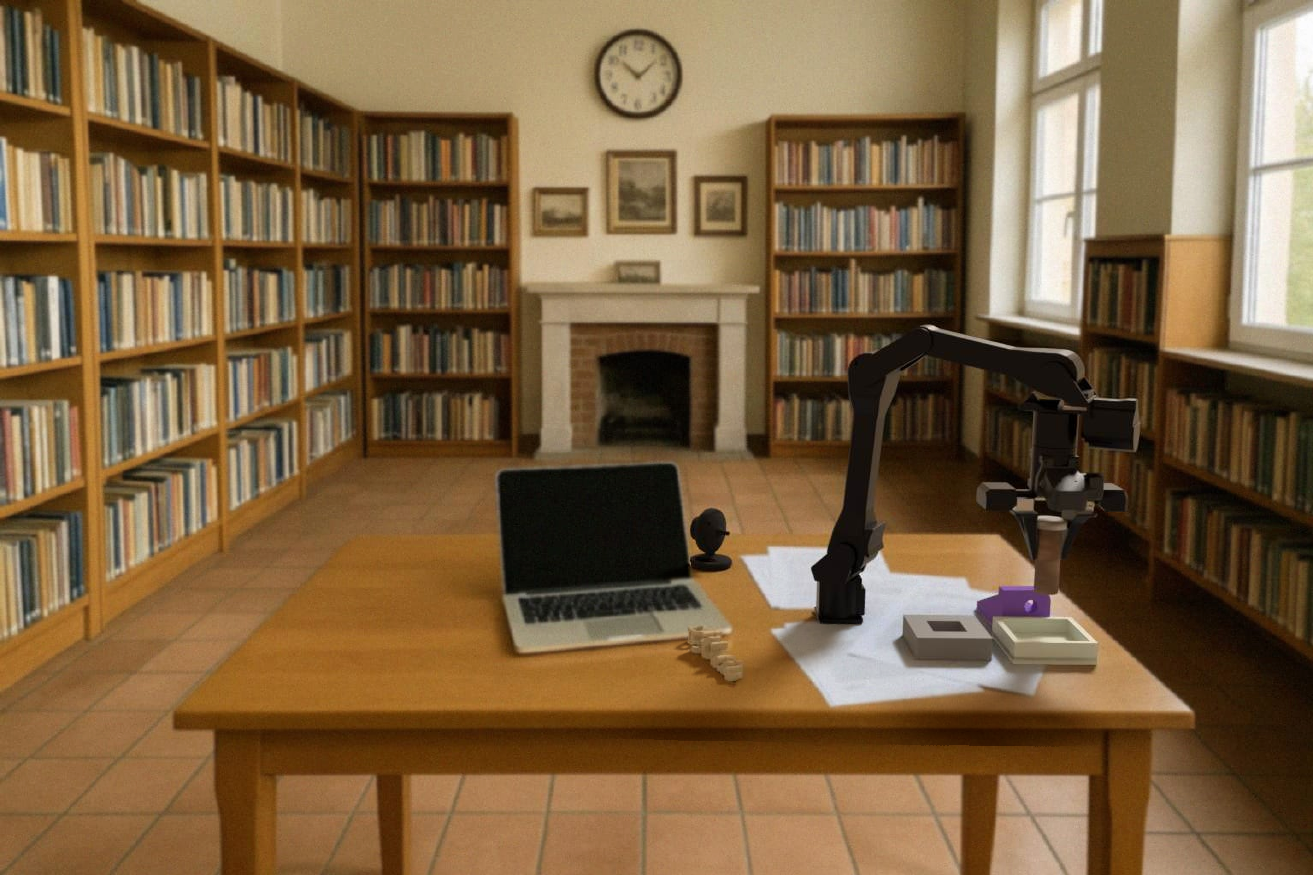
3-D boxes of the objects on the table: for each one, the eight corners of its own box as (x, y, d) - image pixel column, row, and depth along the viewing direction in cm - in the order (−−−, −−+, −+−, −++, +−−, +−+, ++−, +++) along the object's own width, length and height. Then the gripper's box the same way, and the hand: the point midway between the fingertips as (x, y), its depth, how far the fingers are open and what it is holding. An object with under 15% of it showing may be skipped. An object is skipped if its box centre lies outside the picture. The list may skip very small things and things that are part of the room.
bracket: (1048, 636, 175) (1051, 590, 173) (1000, 636, 174) (1003, 590, 173) (1021, 610, 186) (1023, 567, 185) (976, 611, 186) (978, 567, 185)
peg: (1034, 596, 164) (1038, 523, 162) (1024, 586, 168) (1029, 515, 167) (1067, 596, 164) (1071, 523, 162) (1057, 586, 168) (1061, 515, 167)
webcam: (704, 557, 215) (705, 501, 213) (740, 564, 210) (741, 507, 209) (679, 566, 209) (679, 509, 207) (716, 574, 204) (716, 515, 203)
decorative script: (679, 643, 171) (679, 620, 170) (704, 640, 172) (704, 617, 171) (730, 686, 155) (730, 660, 154) (757, 682, 156) (757, 657, 155)
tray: (1013, 663, 162) (1014, 642, 162) (991, 636, 173) (992, 616, 173) (1096, 664, 162) (1098, 643, 162) (1069, 637, 173) (1071, 617, 173)
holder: (916, 659, 164) (917, 637, 163) (902, 635, 174) (903, 614, 173) (991, 659, 164) (992, 638, 163) (973, 635, 174) (974, 615, 173)
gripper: (1000, 455, 155) (993, 575, 158) (1148, 456, 155) (1139, 576, 158) (978, 440, 166) (972, 552, 169) (1116, 441, 166) (1108, 553, 169)
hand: (1047, 559), depth 166 cm, fingers closed on peg, 4 cm apart
